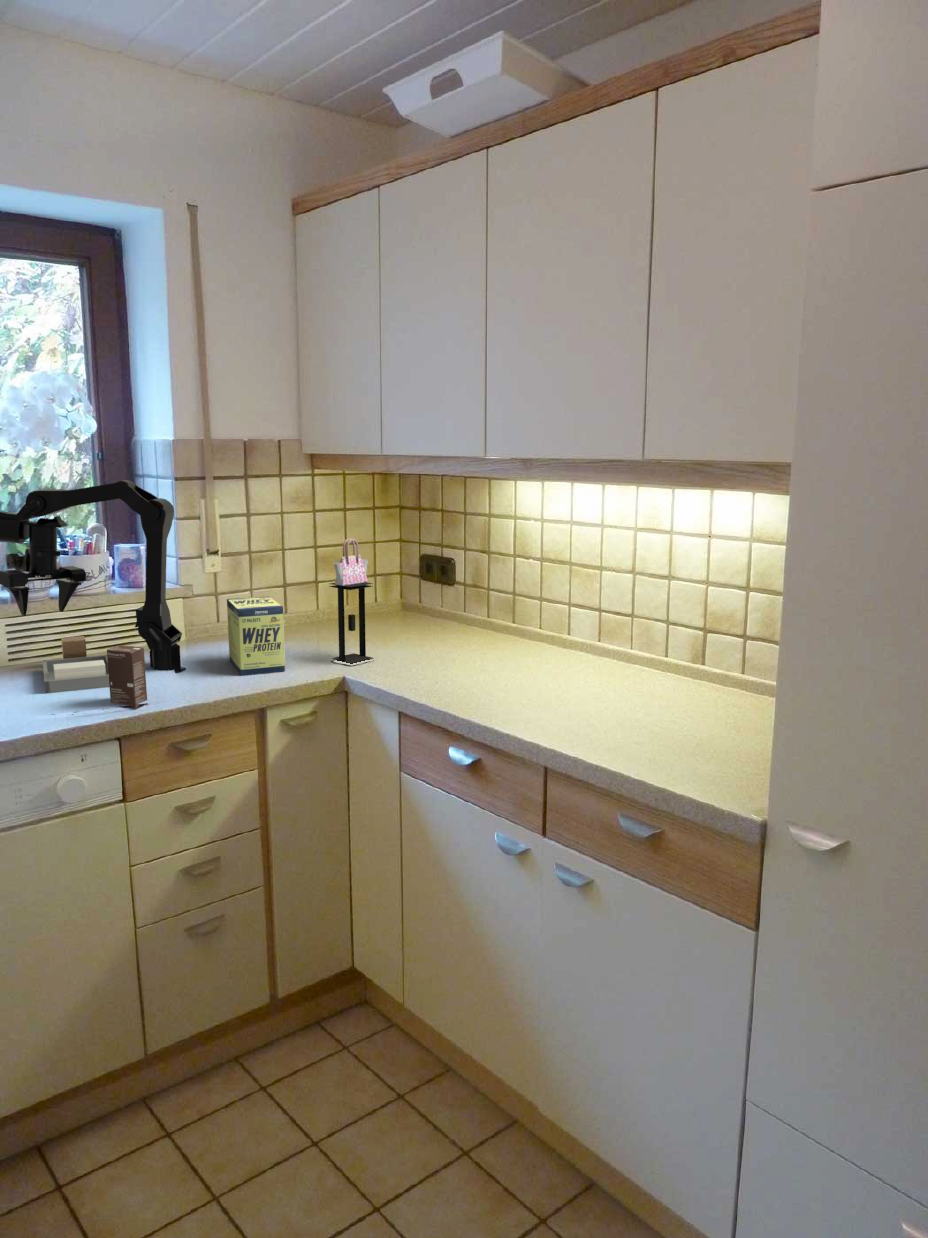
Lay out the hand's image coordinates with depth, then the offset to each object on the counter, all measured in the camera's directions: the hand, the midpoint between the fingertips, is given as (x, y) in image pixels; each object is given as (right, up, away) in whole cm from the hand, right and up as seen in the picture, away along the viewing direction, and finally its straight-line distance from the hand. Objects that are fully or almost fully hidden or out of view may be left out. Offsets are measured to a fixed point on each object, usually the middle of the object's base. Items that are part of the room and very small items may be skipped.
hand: (42, 613), depth 211 cm
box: (+28, -19, -24) cm, 42 cm away
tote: (+11, -15, -7) cm, 20 cm away
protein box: (+47, -13, +9) cm, 49 cm away
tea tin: (+5, -13, +6) cm, 15 cm away
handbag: (+69, -12, +14) cm, 71 cm away
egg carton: (+14, -15, -13) cm, 24 cm away
